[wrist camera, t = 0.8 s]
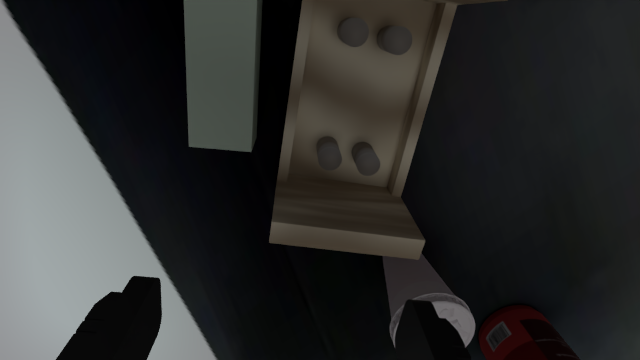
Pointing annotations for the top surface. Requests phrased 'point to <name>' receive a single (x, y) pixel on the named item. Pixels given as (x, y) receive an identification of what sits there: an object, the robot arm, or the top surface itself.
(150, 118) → the top surface
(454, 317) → the smoothie
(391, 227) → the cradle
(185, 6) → the grey-green rectangular block
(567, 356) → the canned food
